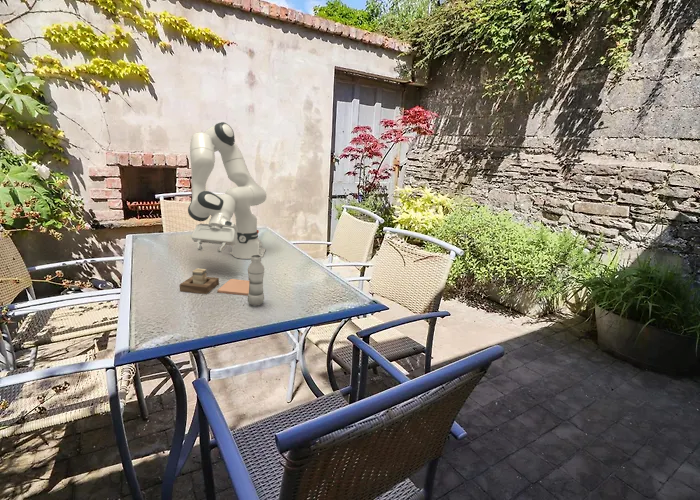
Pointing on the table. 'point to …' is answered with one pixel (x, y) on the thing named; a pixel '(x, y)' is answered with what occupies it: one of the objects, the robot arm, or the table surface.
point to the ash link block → (199, 276)
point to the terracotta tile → (235, 287)
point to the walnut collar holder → (199, 285)
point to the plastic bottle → (255, 281)
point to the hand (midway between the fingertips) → (209, 250)
